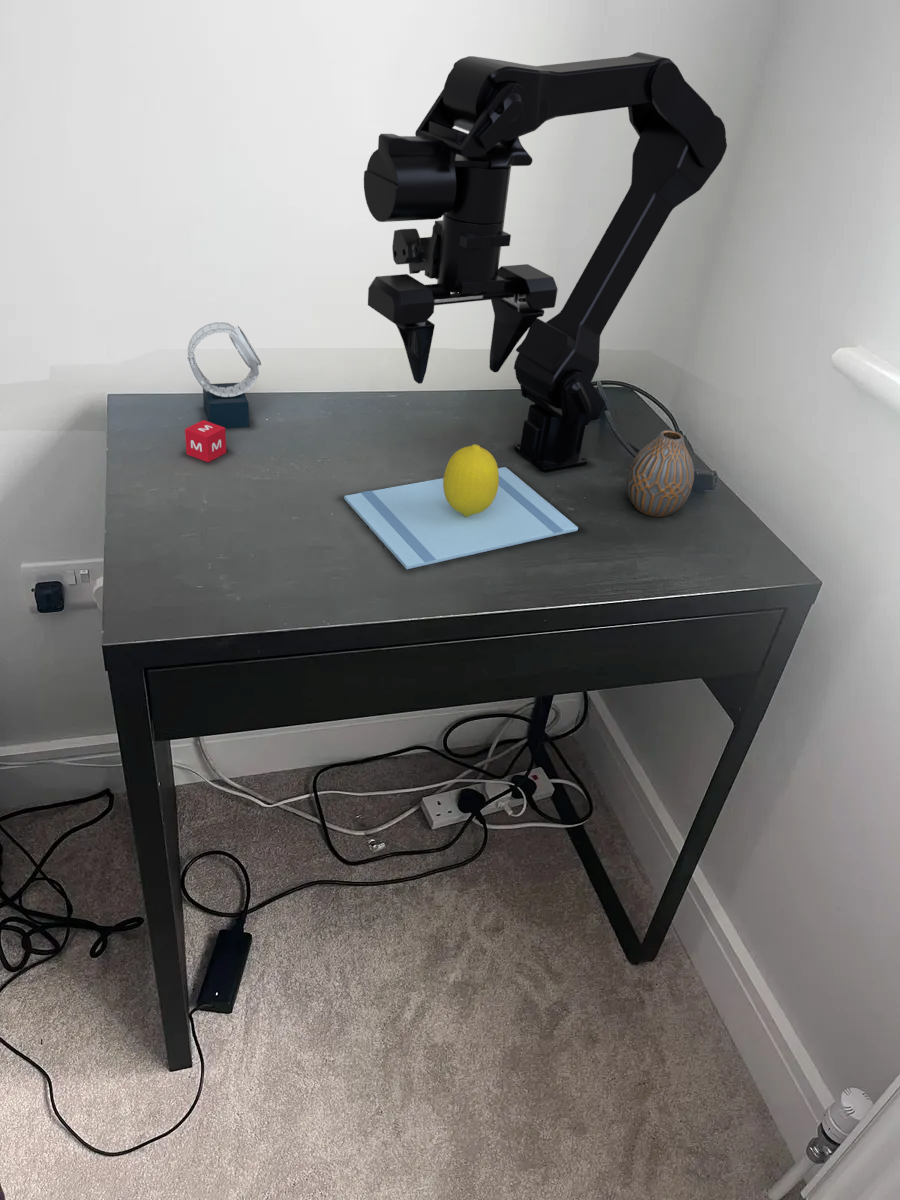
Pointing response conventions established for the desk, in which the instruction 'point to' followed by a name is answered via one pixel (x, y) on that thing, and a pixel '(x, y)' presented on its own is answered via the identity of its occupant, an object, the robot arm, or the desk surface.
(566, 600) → the desk surface
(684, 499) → the vase
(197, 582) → the desk surface
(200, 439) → the red letter cube
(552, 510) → the cloth
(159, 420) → the desk surface
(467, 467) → the lemon
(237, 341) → the watch
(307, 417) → the desk surface
